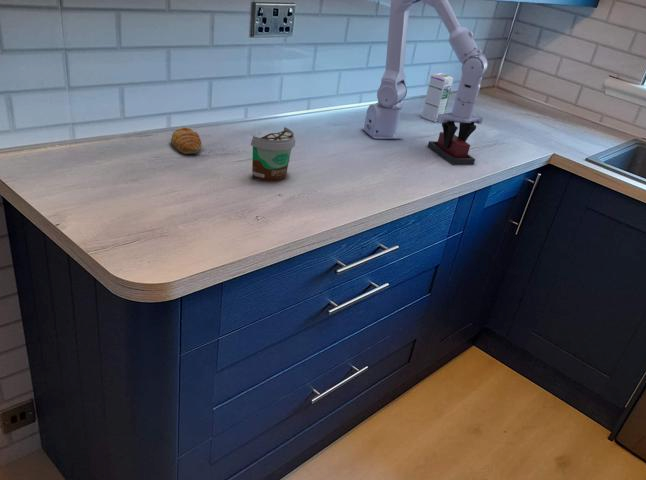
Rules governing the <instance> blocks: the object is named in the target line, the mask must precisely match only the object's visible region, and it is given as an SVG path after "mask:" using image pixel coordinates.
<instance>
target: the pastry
mask: <svg viewBox="0 0 646 480" xmlns="http://www.w3.org/2000/svg"><path fill="white" fill-rule="evenodd" d="M170 142H171V144H172V146H173V147H174V148H175V149H176V151H178V152H179V153H183V154H184V155H188V154H198V153H199V151H200V150H201V148H202V140H201V138H200V134H198V132H196V131H194V130H193V129H192V128H189V127H185V126H184V127H180V128H176V129H175V130H174V131H173V133H172V135H171V138H170Z"/></svg>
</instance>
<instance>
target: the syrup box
mask: <svg viewBox="0 0 646 480" xmlns="http://www.w3.org/2000/svg"><path fill="white" fill-rule="evenodd" d="M453 82H454V77H453V76H452V75H450V74H448V73H447V74H446V73H444V72H437V73H431V74H430V77H429V81H428V86H427V90H426V95H425V99H424V104H423V108H422V113H421V118H422V119H425V120H428V121H429V122H433V123H437V122H438V121H437V118H438V114H445V113H446V112H447V111H446V110H447V106H448V102H449V100H450V99H449V98H450V94H451V91H452V86H453Z"/></svg>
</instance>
